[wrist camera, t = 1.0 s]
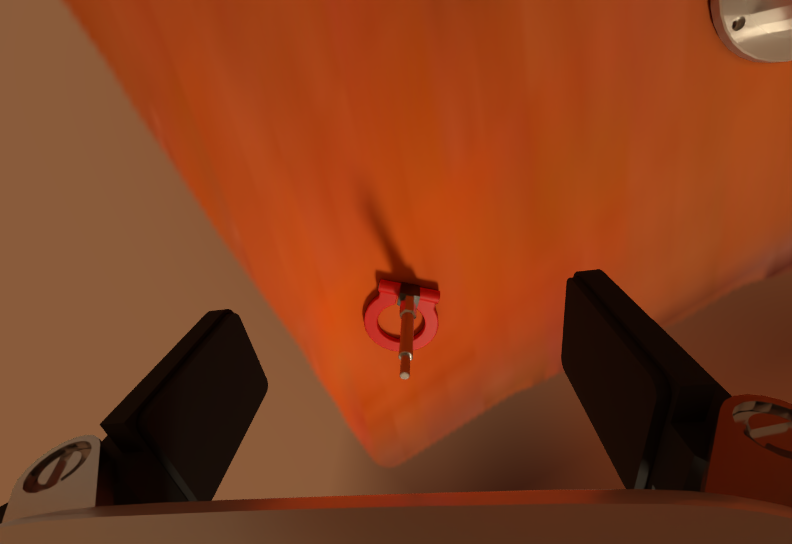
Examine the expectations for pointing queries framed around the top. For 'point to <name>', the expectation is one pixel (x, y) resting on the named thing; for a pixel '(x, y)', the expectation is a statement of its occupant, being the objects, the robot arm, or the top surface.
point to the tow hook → (403, 319)
